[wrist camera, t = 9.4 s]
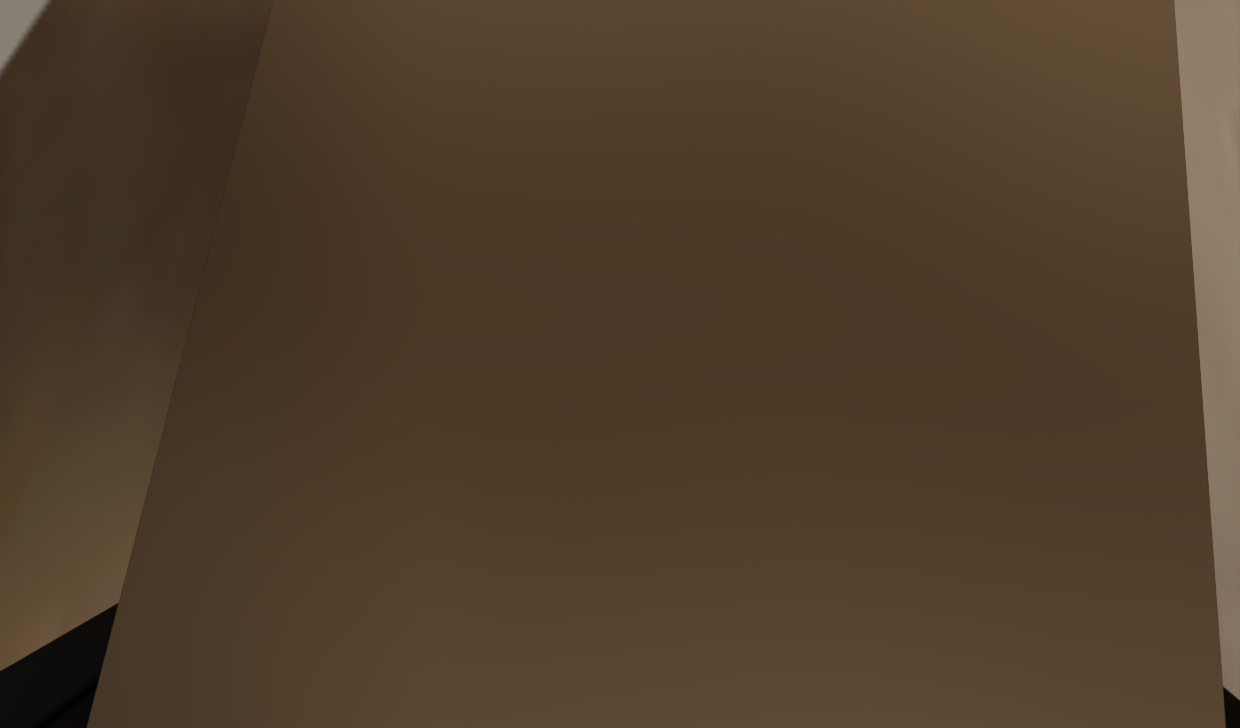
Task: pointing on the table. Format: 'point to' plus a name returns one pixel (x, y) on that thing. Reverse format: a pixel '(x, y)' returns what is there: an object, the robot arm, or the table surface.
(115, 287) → the table surface
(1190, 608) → the walnut block
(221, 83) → the table surface
